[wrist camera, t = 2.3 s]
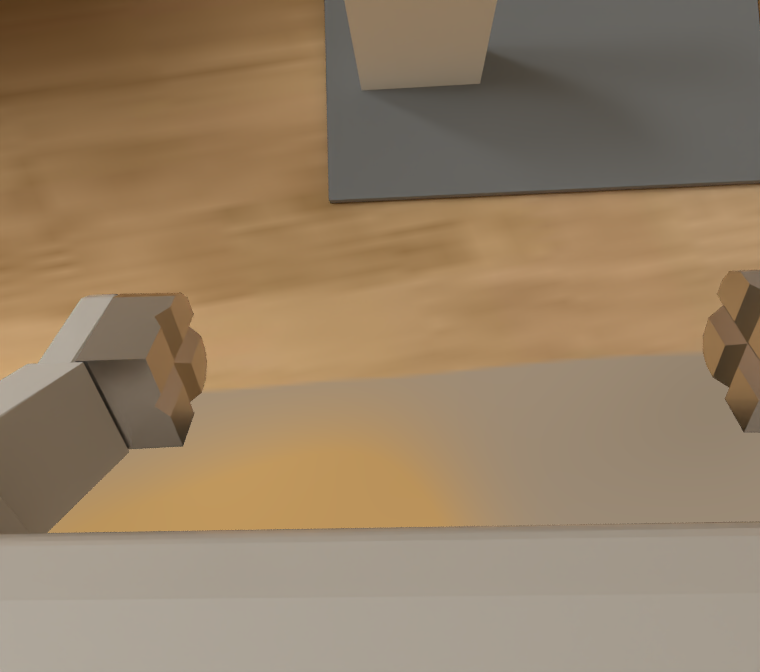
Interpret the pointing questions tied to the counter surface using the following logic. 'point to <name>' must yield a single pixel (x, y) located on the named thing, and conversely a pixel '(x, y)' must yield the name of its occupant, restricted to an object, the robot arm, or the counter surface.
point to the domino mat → (559, 105)
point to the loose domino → (419, 41)
